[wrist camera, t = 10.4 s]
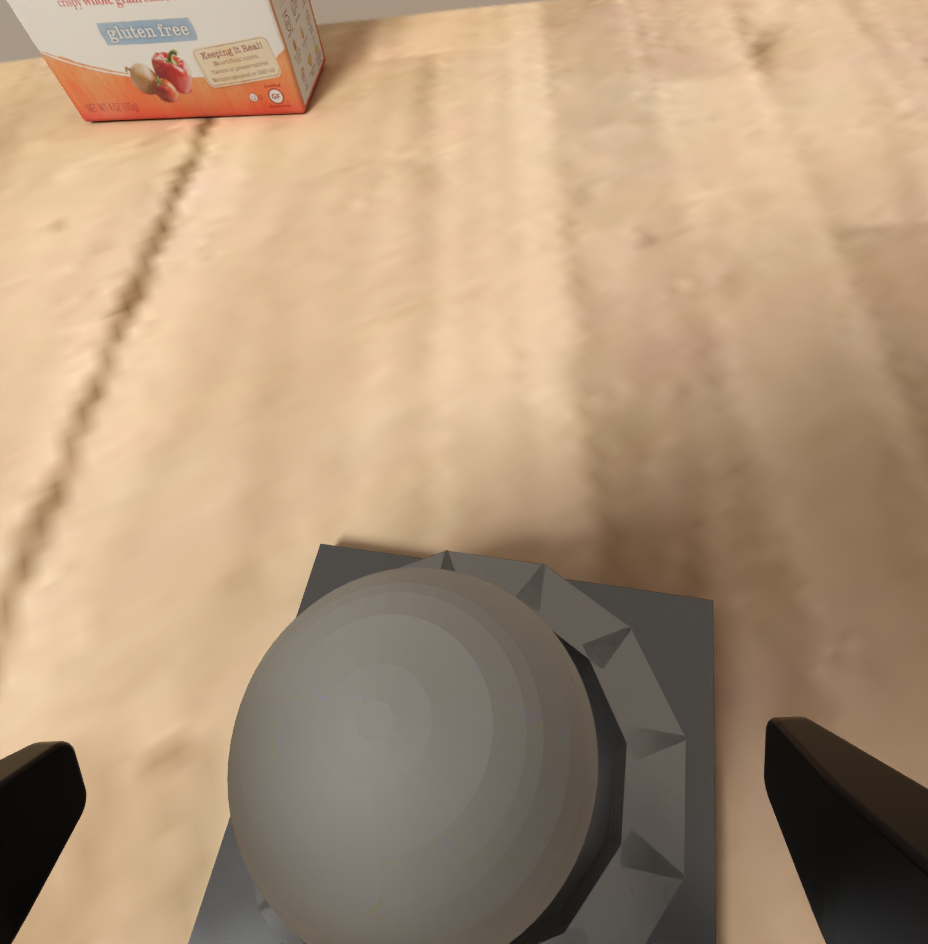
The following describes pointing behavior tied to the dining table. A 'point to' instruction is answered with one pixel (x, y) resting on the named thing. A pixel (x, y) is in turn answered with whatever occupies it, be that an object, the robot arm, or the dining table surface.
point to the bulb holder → (619, 761)
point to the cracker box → (178, 55)
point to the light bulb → (413, 764)
